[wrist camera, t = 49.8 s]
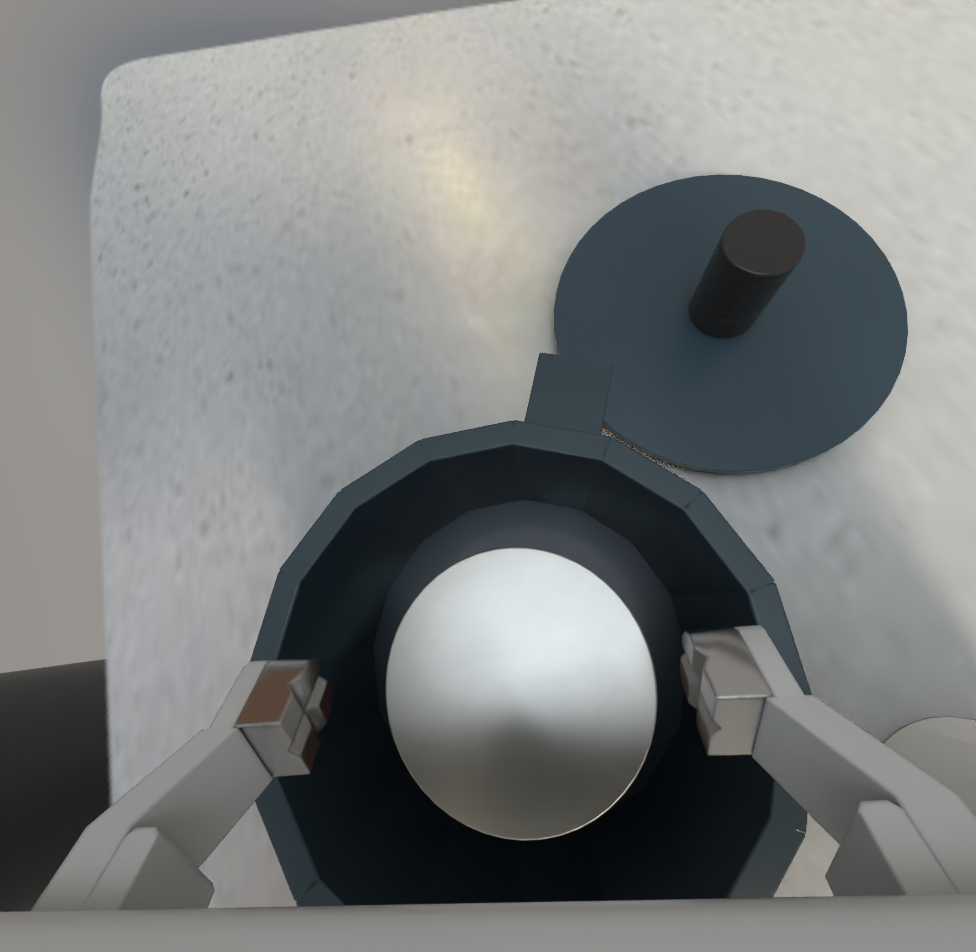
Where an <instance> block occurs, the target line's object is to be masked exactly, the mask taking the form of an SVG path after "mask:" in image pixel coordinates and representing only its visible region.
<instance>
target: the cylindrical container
mask: <svg viewBox="0 0 976 952" xmlns="http://www.w3.org/2000/svg"><path fill="white" fill-rule="evenodd" d="M883 744H885V745H886V746H888V747H889V748H891V749H892V750H894V751H895V752H897V753H898V754H899V755H901V756H902V757H904V758H905V759H907V760H908V761H910V762H911V763H913V764H914V765H915V766H917V767H918V768H920V769H921V770H923V771H924V772H926V773H927V774H929V775H930V776H931V777H933V778H934V779H936V780H937V781H939V782H940V783H942V784H943V785H945V786H946V787H947V788H949V789H950V790H952V791H953V792H955V793H956V794H958V795H959V796H960V797H961V799H962V800H963V801H964V803H965V804H966V805H967V807H968V808H969V809H970V811H971V812H972V813H973V815H974V816H975V817H976V721H973V720H970V719H962V718H954V717H939V718H928V719H925V720H921V721H918V722H914V723H911V724H909V725H908V726H906V727H904V728H902V729H900V730H898V731H897V732H896V733H894V734H893V735H892V736H891V737H890V738H889V739H888V740H887V741H886V742H884V743H883Z"/></svg>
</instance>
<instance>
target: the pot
mask: <svg viewBox="0 0 976 952" xmlns="http://www.w3.org/2000/svg"><path fill="white" fill-rule="evenodd" d="M613 366H614V365H613V363H609V362H602V361H596V360H589V359H582V358H575V357H568V356H561V355H554V354H547V353H540V354H539V358H538V362H537V367H536V372H535V376H534V381H533V385H532V390H531V394H530V399H529V404H528V408H527V413H526V417H525V422H522V421H516V420H514V421H508V422H503V423H498V424H493V425H488V426H483V427H478V428H474V429H469V430H464V431H459V432H454V433H449V434H444V435H439V436H435V437H430V438H425V439H422V440H421V441H420V440H419V441H417V442H415V443H414V444H412V445H411V446H409V447H407V448H406V449H404V450H403V451H401V452H400V453H398V454H396V455H395V456H393V457H392V458H390V459H389V460H387V461H385V462H384V463H382V464H381V465H379V466H378V467H376V468H374V469H373V470H371V471H370V472H368V473H367V474H365V475H363V476H362V477H360V478H359V479H357V480H356V481H354V482H353V483H351V484H349V485H348V486H346V487H345V488H343V489H342V490H341V492H338V493H337V494H336V496H335V497H334V498H333V500H332V501H331V502H330V504H329V505H328V506H327V508H326V509H325V510H324V512H323V513H322V514H321V516H320V517H319V518H318V519H317V521H316V522H315V523H314V525H313V526H312V527H311V529H310V530H309V531H308V533H307V534H306V535H305V537H304V538H303V539H302V541H301V542H300V543H299V545H298V546H297V547H296V548H295V550H294V551H293V552H292V554H291V555H290V556H289V558H288V559H287V560H286V562H285V563H284V564H283V566H282V567H281V568H280V572H279V573H278V575H277V579H276V582H275V585H274V588H273V591H272V594H271V598H270V601H269V604H268V607H267V610H266V613H265V616H264V620H263V623H262V626H261V629H260V632H259V635H258V639H257V642H256V645H255V648H254V651H253V654H252V657H251V661H265V660H283V659H306V658H316V659H317V661H318V663H319V664H320V666H321V670H320V673H319V675H320V676H321V677H323V678H324V679H326V680H327V681H328V683H329V685H330V687H331V692H332V707H331V713H330V716H329V719H328V723H327V724H326V725H325V726H324V727H323V728H322V729H321V730H320V731H319V732H318V733H317V735H318V738H319V741H320V746H319V749H318V752H317V755H316V758H315V761H314V764H313V767H312V770H311V773H310V774H305V775H292V776H279V777H272V778H273V780H272V781H271V782H270V783H269V785H268V786H267V787H266V788H265V789H264V791H263V792H262V793H261V794H260V795H259V797H258V798H257V799H256V800H255V802H256V805H257V807H258V810H259V812H260V815H261V817H262V820H263V822H264V825H265V827H266V830H267V832H268V835H269V837H270V840H271V842H272V845H273V848H274V850H275V853H276V855H277V858H278V860H279V863H280V865H281V868H282V870H283V873H284V875H285V878H286V880H287V883H288V885H289V888H290V890H291V893H292V895H293V898H294V900H295V901H297V903H296V904H297V906H298V907H299V906H351V905H404V904H457V903H509V902H562V901H616V900H670V899H724V898H773V896H774V894H775V892H776V890H777V888H778V886H779V885H780V883H781V881H782V879H783V877H784V875H785V873H786V871H787V870H788V868H789V866H790V864H791V862H792V860H793V858H794V856H795V854H796V853H797V851H798V849H799V847H800V845H801V843H802V841H803V839H804V837H805V833H806V825H807V811H806V810H805V809H804V808H803V807H802V806H801V805H800V804H799V803H798V802H797V801H796V800H795V799H794V798H793V797H792V796H791V795H790V794H789V793H788V792H787V791H786V790H785V789H784V788H783V787H782V786H781V785H780V784H779V783H778V782H777V781H776V780H775V779H774V778H773V777H772V776H771V775H770V774H769V773H768V772H767V771H766V770H765V769H764V768H763V767H762V766H761V765H760V764H759V763H758V762H757V761H756V760H755V759H754V758H753V757H752V755H708V756H707V753H706V750H705V748H704V745H703V742H702V740H701V737H700V734H699V731H698V729H697V726H696V715H697V710H696V709H695V708H694V707H692V706H691V705H690V704H689V703H688V701H687V698H686V695H685V692H684V689H683V685H682V681H681V674H680V657H681V656H682V655H683V654H684V653H685V650H684V648H683V645H682V634H683V633H684V631H686V630H698V629H710V628H721V627H740V626H754V625H760V626H761V627H762V628H764V629H765V631H766V633H767V634H768V636H769V637H770V639H771V641H772V642H773V644H774V646H775V647H776V649H777V651H778V652H779V654H780V655H781V657H782V659H783V660H784V662H785V664H786V665H787V667H788V669H789V670H790V672H791V674H792V675H793V677H794V678H795V680H796V682H797V683H798V685H799V687H800V688H801V690H802V692H803V693H804V695H812V694H811V691H810V688H809V685H808V682H807V679H806V675H805V672H804V669H803V666H802V663H801V660H800V657H799V654H798V651H797V648H796V645H795V642H794V639H793V635H792V632H791V629H790V626H789V623H788V620H787V617H786V614H785V611H784V608H783V605H782V602H781V599H780V595H779V592H778V589H777V586H776V584H775V583H774V579H773V578H772V577H771V575H770V574H769V573H768V572H767V570H766V569H765V568H764V567H763V565H762V564H761V563H760V562H759V560H758V559H757V558H756V557H755V555H754V554H753V553H752V552H751V551H750V549H749V548H748V547H747V546H746V544H745V543H744V542H743V541H742V539H741V538H740V537H739V536H738V534H737V533H736V532H735V531H734V529H733V528H732V527H731V526H730V524H729V523H728V522H727V521H726V519H725V518H724V517H723V516H722V514H721V513H720V512H719V511H718V509H717V508H716V507H715V506H714V504H713V503H712V502H711V501H710V500H709V498H708V497H707V496H706V495H705V493H704V492H701V490H700V489H699V488H697V487H695V486H694V485H692V484H690V483H689V482H687V481H685V480H684V479H682V478H680V477H679V476H677V475H675V474H673V473H672V472H670V471H668V470H667V469H665V468H663V467H662V466H660V465H658V464H657V463H655V462H653V461H651V460H650V459H648V458H646V457H645V456H643V455H641V454H640V453H638V452H636V451H634V450H633V449H631V448H629V447H628V446H626V445H624V444H623V443H621V442H619V441H618V440H616V439H614V438H612V437H611V438H610V437H609V436H605V435H601V432H602V427H603V421H604V416H605V410H606V405H607V399H608V394H609V388H610V382H611V377H612V371H613ZM505 547H530V548H536V549H543V550H547V551H550V552H554V553H557V554H560V555H563V556H565V557H568V558H570V559H572V560H574V561H577V562H578V563H580V564H582V565H583V566H585V567H587V568H588V569H590V570H592V571H593V572H594V573H596V574H597V575H598V576H599V577H601V578H602V579H603V580H604V581H606V582H607V583H608V584H609V585H610V586H611V587H612V588H613V589H614V590H615V591H616V592H617V593H618V594H619V596H620V597H621V598H622V599H623V601H624V602H625V603H626V605H627V606H628V607H629V609H630V610H631V612H632V613H633V615H634V617H635V618H636V620H637V622H638V623H639V625H640V627H641V629H642V632H643V634H644V636H645V638H646V641H647V643H648V646H649V649H650V653H651V656H652V659H653V663H654V668H655V674H656V680H657V697H658V705H657V717H656V725H655V729H654V734H653V739H652V743H651V745H650V748H649V751H648V754H647V757H646V759H645V762H644V763H643V765H642V767H641V769H640V771H639V773H638V775H637V777H636V779H635V780H634V781H633V783H632V784H631V786H630V787H629V788H628V790H627V791H626V793H625V794H624V795H623V796H622V797H621V798H620V799H619V800H618V801H617V802H616V803H615V804H614V805H613V806H612V807H611V808H610V809H609V810H608V811H606V812H605V813H604V814H603V815H601V816H600V817H599V818H597V819H596V820H595V821H593V822H591V823H589V824H587V825H586V826H584V827H582V828H580V829H578V830H575V831H573V832H570V833H567V834H565V835H562V836H558V837H553V838H548V839H543V840H526V841H521V840H512V839H503V838H499V837H495V836H492V835H488V834H484V833H482V832H480V831H477V830H475V829H472V828H470V827H468V826H466V825H464V824H463V823H461V822H459V821H458V820H456V819H454V818H453V817H451V816H450V815H448V814H447V813H446V812H445V811H443V810H442V809H441V808H440V807H438V806H437V805H436V804H435V803H434V802H433V801H432V800H431V799H430V798H429V797H428V796H427V795H426V794H425V793H424V792H423V791H422V789H421V788H420V787H419V785H418V784H417V782H416V781H415V780H414V778H413V777H412V776H411V774H410V772H409V771H408V769H407V767H406V765H405V764H404V762H403V760H402V758H401V756H400V753H399V751H398V749H397V746H396V744H395V741H394V738H393V735H392V731H391V727H390V724H389V719H388V712H387V706H386V686H385V683H386V672H387V663H388V659H389V654H390V649H391V645H392V642H393V640H394V637H395V634H396V631H397V629H398V626H399V624H400V622H401V620H402V618H403V616H404V614H405V613H406V611H407V609H408V608H409V606H410V605H411V603H412V602H413V600H414V599H415V598H416V596H417V595H418V594H419V593H420V592H421V590H422V589H423V588H424V587H425V586H426V585H427V584H428V583H429V582H430V581H431V580H432V579H433V578H434V577H436V576H437V575H438V574H439V573H441V572H442V571H444V570H445V569H446V568H448V567H449V566H451V565H453V564H454V563H456V562H458V561H460V560H462V559H464V558H466V557H469V556H471V555H474V554H476V553H479V552H483V551H487V550H491V549H495V548H505Z"/></svg>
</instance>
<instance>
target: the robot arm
mask: <svg viewBox="0 0 976 952" xmlns="http://www.w3.org/2000/svg"><path fill="white" fill-rule="evenodd" d="M682 645H683V648H684V650H685V653H684V654H683V655H682V656H681V657H680V674H681V681H682V685H683V689H684V692H685V695H686V698H687V701H688V703H689V704H690V705H691V706H692V707H694V708H695V709H696V710H697V715H696V726H697V729H698V731H699V734H700V737H701V740H702V742H703V745H704V748H705V750H706V753H707V756H708V755H752V757H753V758H754V759H755V760H756V761H757V762H758V763H759V764H760V765H761V766H762V767H763V768H764V769H765V770H766V771H767V772H768V773H769V774H770V775H771V776H772V777H773V778H774V779H775V780H776V781H777V782H778V783H779V784H780V785H781V786H782V787H783V788H784V789H785V790H786V791H787V792H788V793H789V794H790V795H791V796H792V797H793V798H794V799H795V800H796V801H797V802H798V803H799V804H800V805H801V806H802V807H803V808H804V809H805V810H806V811H807V812H808V813H809V814H810V815H811V816H812V817H813V818H814V819H815V820H816V821H817V822H818V823H819V824H820V825H821V826H822V827H823V828H824V829H825V830H826V831H827V832H828V833H829V834H830V835H831V836H832V837H833V838H834V839H835V840H836V841H837V842H838V843H839V844H840V846H839V848H838V850H837V852H836V854H835V857H834V859H833V861H832V863H831V865H830V867H829V869H828V871H827V873H826V875H825V877H826V879H827V881H828V884H829V886H830V888H831V890H832V892H833V894H834V896H833V897H778V898H724V899H670V900H616V901H562V902H509V903H457V904H404V905H351V906H299V907H246V908H208V905H209V903H210V900H211V898H212V896H213V893H214V891H215V890H214V887H213V883H212V882H211V881H210V880H209V879H208V878H207V877H206V876H205V875H204V874H203V873H202V872H201V871H200V870H199V867H200V866H201V865H202V864H203V863H204V861H205V860H206V859H207V858H208V857H209V855H210V854H211V853H212V852H213V851H214V849H215V848H216V847H217V846H218V845H219V843H220V842H221V841H222V840H223V839H224V837H225V836H226V835H227V834H228V833H229V831H230V830H231V829H232V828H233V827H234V825H235V824H236V823H237V822H238V821H239V819H240V818H241V817H242V816H243V815H244V813H245V812H246V811H247V810H248V809H249V807H250V806H251V805H252V804H253V803H254V801H255V800H256V799H257V798H258V797H259V795H260V794H261V793H262V792H263V791H264V789H265V788H266V787H267V786H268V785H269V783H270V782H271V781H272V780H273V778H272V777H279V776H292V775H305V774H310V773H311V770H312V767H313V764H314V761H315V758H316V755H317V752H318V749H319V746H320V741H319V738H318V735H317V733H318V732H319V731H320V730H321V729H322V728H323V727H324V726H325V725H326V724H327V723H328V719H329V716H330V713H331V707H332V692H331V687H330V685H329V683H328V681H327V680H326V679H324V678H323V677H321V676H320V675H319V673H320V670H321V666H320V664H319V663H318V661H317V659H316V658H306V659H283V660H265V661H250V662H249V663H248V664H247V665H245V666H244V667H243V669H242V670H241V672H240V674H239V676H238V678H237V679H236V681H235V683H234V685H233V687H232V688H231V690H230V692H229V694H228V695H227V697H226V699H225V701H224V703H223V704H222V706H221V708H220V710H219V711H218V713H217V715H216V717H215V719H214V720H213V722H212V724H211V726H210V728H209V729H207V730H201V731H200V732H199V733H198V734H197V735H196V736H194V737H193V738H192V739H191V740H190V741H188V742H187V743H186V744H185V745H184V746H182V747H181V748H180V749H179V750H178V751H176V752H175V753H174V754H173V755H172V756H170V757H169V758H168V759H167V760H166V761H165V762H163V763H162V764H161V765H160V766H159V767H157V768H156V769H155V770H154V771H153V772H151V773H150V774H149V775H148V776H147V777H145V778H144V779H143V780H142V781H141V782H139V783H138V784H137V785H136V786H135V787H134V788H132V789H131V790H130V791H129V792H128V793H126V794H125V795H124V796H123V797H122V798H120V799H119V800H118V801H117V802H116V803H114V804H113V805H112V806H111V807H110V808H108V809H107V810H106V811H105V812H104V813H103V814H101V815H100V816H99V817H98V818H97V819H95V820H94V821H93V822H92V823H91V824H89V825H88V826H87V827H86V829H85V830H84V832H83V833H82V835H81V836H80V838H79V839H78V841H77V842H76V844H75V845H74V847H73V848H72V850H71V851H70V853H69V854H68V856H67V857H66V859H65V860H64V862H63V863H62V865H61V866H60V868H59V869H58V871H57V872H56V874H55V875H54V877H53V878H52V880H51V881H50V883H49V884H48V886H47V887H46V889H45V890H44V892H43V893H42V895H41V896H40V898H39V899H38V901H37V902H36V904H35V905H34V907H33V908H32V910H31V911H30V912H0V952H976V817H975V816H974V815H973V813H972V812H971V811H970V809H969V808H968V807H967V805H966V804H965V803H964V801H963V800H962V799H961V797H960V796H959V795H958V794H956V793H955V792H953V791H952V790H950V789H949V788H947V787H946V786H945V785H943V784H942V783H940V782H939V781H937V780H936V779H934V778H933V777H931V776H930V775H929V774H927V773H926V772H924V771H923V770H921V769H920V768H918V767H917V766H915V765H914V764H913V763H911V762H910V761H908V760H907V759H905V758H904V757H902V756H901V755H899V754H898V753H897V752H895V751H894V750H892V749H891V748H889V747H888V746H886V745H885V744H883V743H882V742H881V741H879V740H878V739H876V738H875V737H873V736H872V735H870V734H869V733H867V732H866V731H865V730H863V729H862V728H860V727H859V726H857V725H856V724H854V723H853V722H851V721H850V720H849V719H847V718H846V717H844V716H843V715H841V714H840V713H838V712H837V711H835V710H834V709H833V708H831V707H830V706H828V705H827V704H825V703H824V702H822V701H821V700H820V699H818V698H817V697H815V696H814V695H804V693H803V692H802V690H801V688H800V687H799V685H798V683H797V682H796V680H795V678H794V677H793V675H792V674H791V672H790V670H789V669H788V667H787V665H786V664H785V662H784V660H783V659H782V657H781V655H780V654H779V652H778V651H777V649H776V647H775V646H774V644H773V642H772V641H771V639H770V637H769V636H768V634H767V633H766V631H765V629H764V628H762V627H761V626H760V625H754V626H740V627H721V628H710V629H698V630H686V631H684V633H683V634H682Z"/></svg>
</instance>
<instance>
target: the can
mask: <svg viewBox="0 0 976 952" xmlns="http://www.w3.org/2000/svg"><path fill="white" fill-rule="evenodd" d="M385 686H386V706H387V712H388V719H389V724H390V727H391V731H392V735H393V738H394V741H395V744H396V746H397V749H398V751H399V753H400V756H401V758H402V760H403V762H404V764H405V765H406V767H407V769H408V771H409V772H410V774H411V776H412V777H413V778H414V780H415V781H416V782H417V784H418V785H419V787H420V788H421V789H422V791H423V792H424V793H425V794H426V795H427V796H428V797H429V798H430V799H431V800H432V801H433V802H434V803H435V804H436V805H437V806H438V807H440V808H441V809H442V810H443V811H445V812H446V813H447V814H448V815H450V816H451V817H453V818H454V819H456V820H458V821H459V822H461V823H463V824H464V825H466V826H468V827H470V828H472V829H475V830H477V831H480V832H482V833H484V834H488V835H492V836H495V837H499V838H503V839H512V840H521V841H526V840H543V839H548V838H553V837H558V836H562V835H565V834H567V833H570V832H573V831H575V830H578V829H580V828H582V827H584V826H586V825H587V824H589V823H591V822H593V821H595V820H596V819H597V818H599V817H600V816H601V815H603V814H604V813H605V812H606V811H608V810H609V809H610V808H611V807H612V806H613V805H614V804H615V803H616V802H617V801H618V800H619V799H620V798H621V797H622V796H623V795H624V794H625V793H626V791H627V790H628V788H629V787H630V786H631V784H632V783H633V781H634V780H635V779H636V777H637V775H638V773H639V771H640V769H641V767H642V765H643V763H644V762H645V759H646V757H647V754H648V751H649V748H650V745H651V743H652V739H653V734H654V729H655V725H656V717H657V705H658V697H657V680H656V674H655V668H654V663H653V659H652V656H651V653H650V649H649V646H648V643H647V641H646V638H645V636H644V634H643V632H642V629H641V627H640V625H639V623H638V622H637V620H636V618H635V617H634V615H633V613H632V612H631V610H630V609H629V607H628V606H627V605H626V603H625V602H624V601H623V599H622V598H621V597H620V596H619V594H618V593H617V592H616V591H615V590H614V589H613V588H612V587H611V586H610V585H609V584H608V583H607V582H606V581H604V580H603V579H602V578H601V577H599V576H598V575H597V574H596V573H594V572H593V571H592V570H590V569H588V568H587V567H585V566H583V565H582V564H580V563H578V562H577V561H574V560H572V559H570V558H568V557H565V556H563V555H560V554H557V553H554V552H550V551H547V550H543V549H536V548H530V547H505V548H495V549H491V550H487V551H483V552H479V553H476V554H474V555H471V556H469V557H466V558H464V559H462V560H460V561H458V562H456V563H454V564H453V565H451V566H449V567H448V568H446V569H445V570H444V571H442V572H441V573H439V574H438V575H437V576H436V577H434V578H433V579H432V580H431V581H430V582H429V583H428V584H427V585H426V586H425V587H424V588H423V589H422V590H421V592H420V593H419V594H418V595H417V596H416V598H415V599H414V600H413V602H412V603H411V605H410V606H409V608H408V609H407V611H406V613H405V614H404V616H403V618H402V620H401V622H400V624H399V626H398V629H397V631H396V634H395V637H394V640H393V642H392V645H391V649H390V654H389V659H388V663H387V672H386V683H385Z"/></svg>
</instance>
